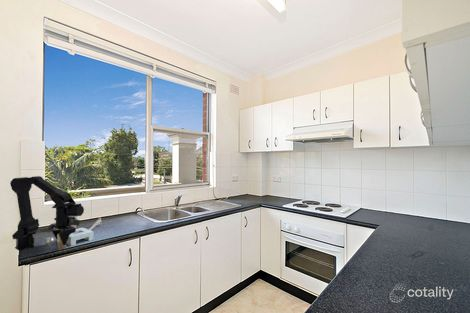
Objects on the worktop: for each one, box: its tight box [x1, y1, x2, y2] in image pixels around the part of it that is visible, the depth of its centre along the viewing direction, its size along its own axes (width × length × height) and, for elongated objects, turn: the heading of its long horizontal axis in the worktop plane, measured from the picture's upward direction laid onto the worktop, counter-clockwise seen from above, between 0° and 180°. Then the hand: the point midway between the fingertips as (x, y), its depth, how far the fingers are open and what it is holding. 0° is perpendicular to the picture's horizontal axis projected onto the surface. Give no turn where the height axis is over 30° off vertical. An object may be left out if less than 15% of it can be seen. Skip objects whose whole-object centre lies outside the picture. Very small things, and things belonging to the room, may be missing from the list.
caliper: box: [87, 217, 102, 231], centre depth 154 cm, size 20×1×6 cm, turn 8°
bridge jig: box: [66, 227, 95, 247], centre depth 133 cm, size 12×14×5 cm
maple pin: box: [56, 233, 67, 251], centre depth 122 cm, size 4×4×8 cm
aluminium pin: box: [44, 236, 55, 247], centre depth 126 cm, size 4×4×4 cm
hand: (61, 243), depth 122 cm, fingers open, 7 cm apart
